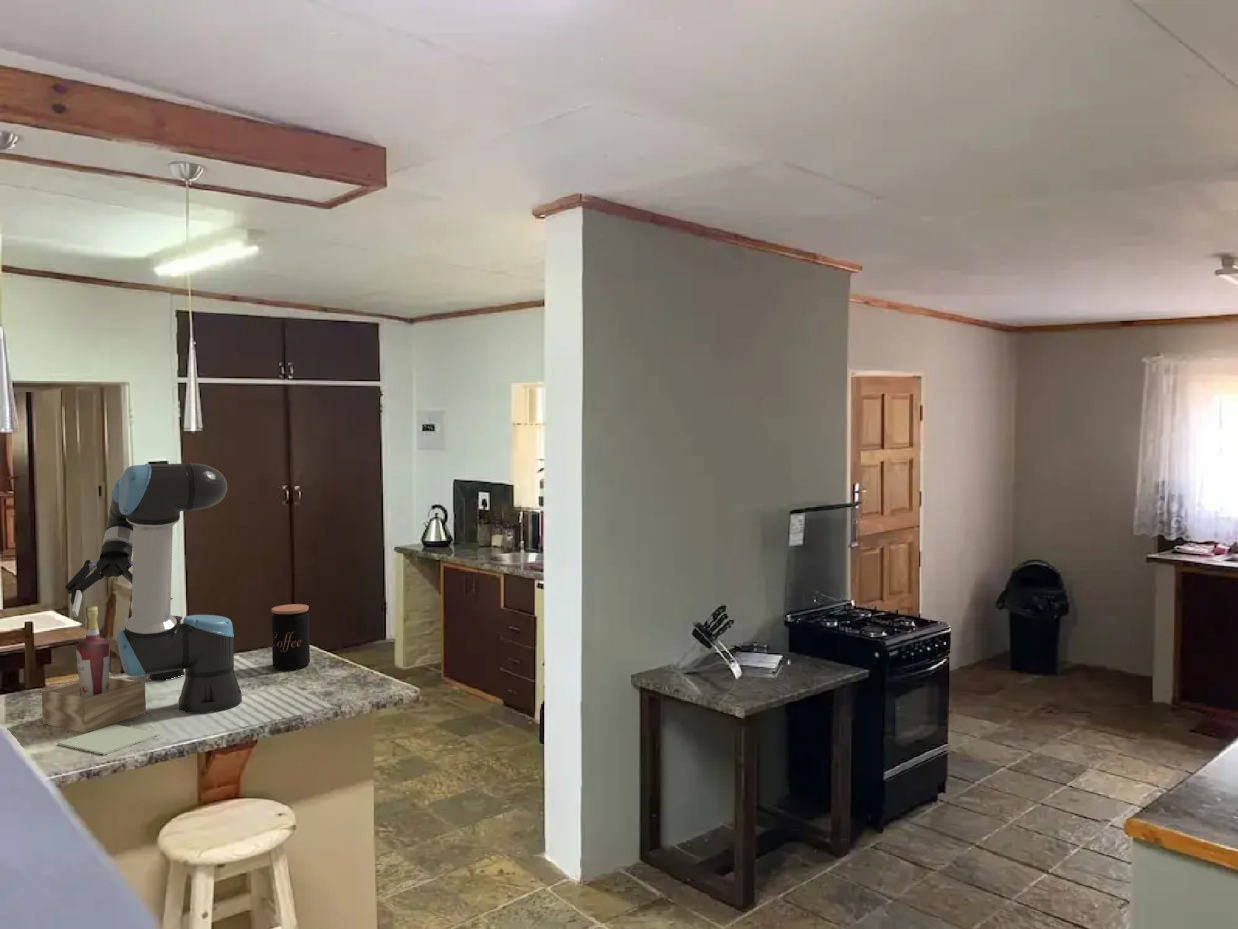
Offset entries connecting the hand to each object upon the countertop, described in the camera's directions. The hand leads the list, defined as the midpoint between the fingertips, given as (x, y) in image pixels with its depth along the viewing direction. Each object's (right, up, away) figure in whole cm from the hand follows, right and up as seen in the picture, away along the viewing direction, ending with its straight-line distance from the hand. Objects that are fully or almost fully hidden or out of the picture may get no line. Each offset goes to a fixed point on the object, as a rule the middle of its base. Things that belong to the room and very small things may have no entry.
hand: (104, 612), depth 236 cm
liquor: (+3, -25, -9) cm, 27 cm away
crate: (+3, -25, -9) cm, 27 cm away
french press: (+2, -23, +29) cm, 37 cm away
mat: (+16, -25, -25) cm, 39 cm away
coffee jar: (+35, -23, +39) cm, 57 cm away
